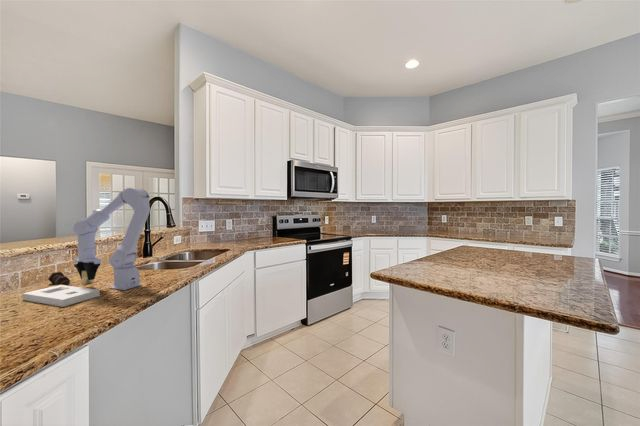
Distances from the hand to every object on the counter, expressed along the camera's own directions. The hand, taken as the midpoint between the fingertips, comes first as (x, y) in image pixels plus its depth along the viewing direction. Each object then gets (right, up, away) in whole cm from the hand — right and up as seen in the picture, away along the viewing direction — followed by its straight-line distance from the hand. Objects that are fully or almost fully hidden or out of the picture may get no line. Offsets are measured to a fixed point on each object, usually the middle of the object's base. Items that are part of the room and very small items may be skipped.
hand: (87, 279), depth 119 cm
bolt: (-17, -4, +5) cm, 18 cm away
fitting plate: (+1, -4, -13) cm, 14 cm away
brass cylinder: (0, -2, 0) cm, 2 cm away
